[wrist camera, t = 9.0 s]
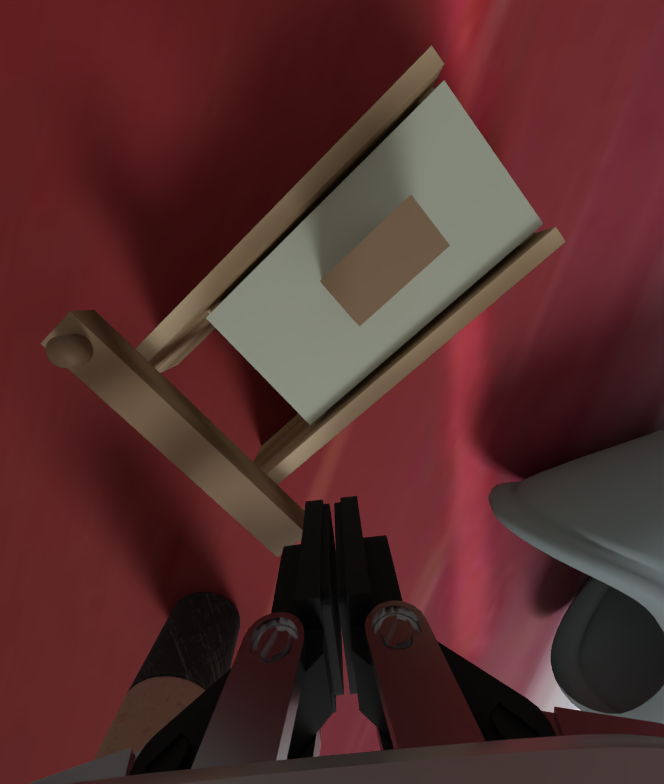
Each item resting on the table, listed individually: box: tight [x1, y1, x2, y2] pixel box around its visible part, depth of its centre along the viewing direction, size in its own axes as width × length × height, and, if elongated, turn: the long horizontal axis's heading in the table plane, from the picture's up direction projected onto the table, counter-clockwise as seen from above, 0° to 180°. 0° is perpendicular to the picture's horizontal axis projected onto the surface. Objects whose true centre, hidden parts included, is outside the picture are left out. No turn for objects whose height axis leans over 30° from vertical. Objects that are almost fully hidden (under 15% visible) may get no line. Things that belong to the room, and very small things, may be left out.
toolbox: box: [135, 46, 566, 484], centre depth 25 cm, size 12×25×9 cm, turn 132°
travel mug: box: [93, 592, 240, 761], centre depth 28 cm, size 8×8×20 cm
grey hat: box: [488, 429, 664, 724], centre depth 29 cm, size 22×19×13 cm
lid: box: [206, 81, 543, 425], centre depth 19 cm, size 9×18×7 cm, turn 132°
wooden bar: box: [41, 310, 305, 557], centre depth 21 cm, size 18×2×3 cm, turn 42°
